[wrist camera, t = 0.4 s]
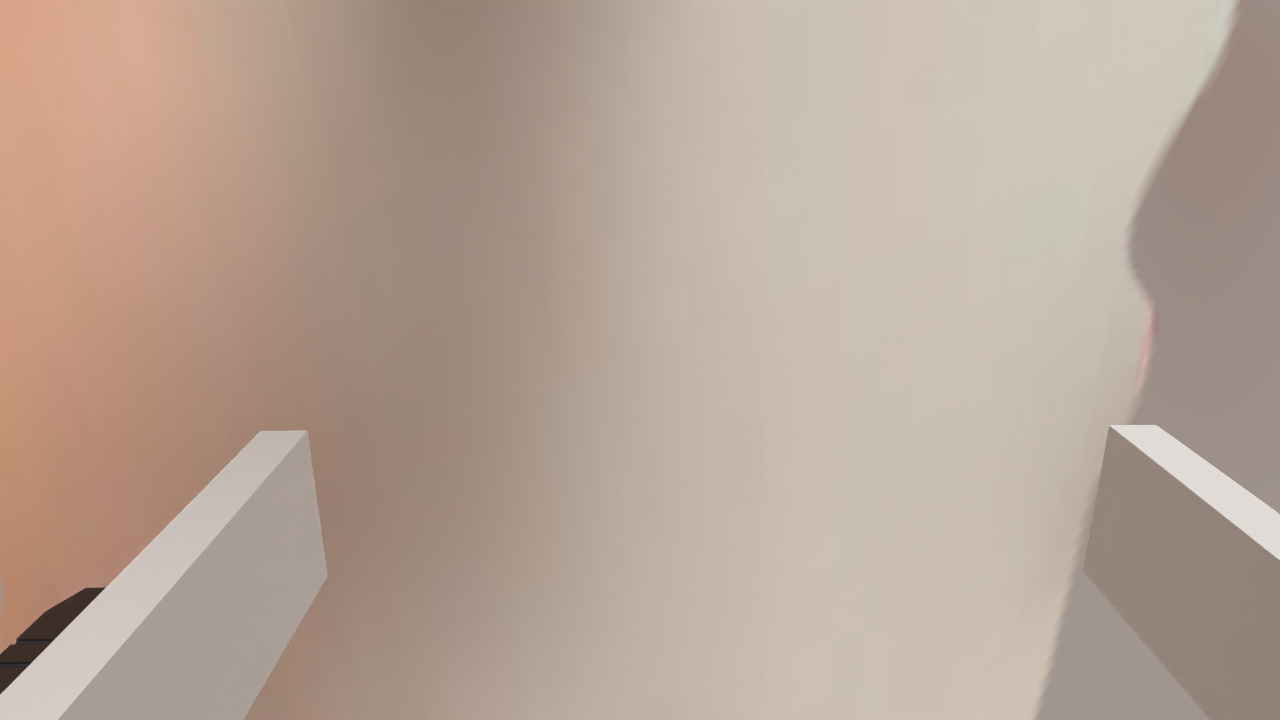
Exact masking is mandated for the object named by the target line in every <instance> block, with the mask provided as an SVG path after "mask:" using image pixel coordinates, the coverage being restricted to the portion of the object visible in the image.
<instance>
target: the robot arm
mask: <svg viewBox="0 0 1280 720" xmlns="http://www.w3.org/2000/svg"><path fill="white" fill-rule="evenodd" d="M1083 572H1084V573H1085V574H1086V576H1087V577H1088V578H1089V579H1090V580H1091V581H1092V583H1093V584H1094V585H1095V586H1096V587H1097V588H1098V590H1100V592H1101V593H1102V594H1103V595H1104V596H1105V598H1106V599H1107V600H1108V601H1109V602H1110V604H1112V606H1113V607H1114V608H1115V609H1116V611H1117V612H1118V613H1119V614H1120V615H1121V616H1122V618H1123V619H1124V620H1125V621H1126V622H1127V623H1128V625H1129V626H1130V627H1131V628H1132V629H1133V630H1134V632H1135V633H1136V634H1137V635H1138V636H1139V637H1140V639H1141V640H1142V641H1143V642H1144V643H1145V644H1146V646H1147V647H1148V648H1149V649H1150V650H1151V651H1152V652H1153V654H1154V655H1155V656H1156V657H1157V658H1158V659H1159V661H1160V662H1161V663H1162V664H1163V665H1164V666H1165V668H1166V669H1167V670H1168V671H1169V672H1170V674H1171V675H1172V676H1173V677H1174V678H1175V679H1176V681H1177V682H1178V683H1179V684H1180V685H1181V686H1182V688H1183V689H1184V690H1185V691H1186V692H1187V693H1188V694H1189V696H1190V697H1191V698H1192V699H1193V700H1194V702H1195V703H1196V704H1197V705H1198V706H1199V707H1200V709H1201V710H1202V711H1203V712H1204V713H1205V714H1206V716H1207V717H1208V718H1209V719H1210V720H1280V514H1279V513H1277V512H1276V511H1275V510H1273V509H1272V508H1270V507H1269V506H1268V505H1266V504H1265V503H1263V502H1262V501H1261V500H1259V499H1258V498H1257V497H1255V496H1254V495H1252V494H1251V493H1250V492H1248V491H1247V490H1246V489H1244V488H1243V487H1241V486H1240V485H1238V484H1237V483H1236V482H1234V481H1233V480H1232V479H1230V478H1229V477H1227V476H1226V475H1225V474H1223V473H1222V472H1221V471H1219V470H1218V469H1216V468H1215V467H1213V466H1212V465H1211V464H1209V463H1208V462H1207V461H1205V460H1204V459H1203V458H1201V457H1200V456H1198V455H1197V454H1196V453H1194V452H1193V451H1191V450H1190V449H1189V448H1187V447H1186V446H1184V445H1183V444H1182V443H1180V442H1179V441H1178V440H1176V439H1175V438H1173V437H1172V436H1171V435H1169V434H1168V433H1166V432H1165V431H1163V430H1162V429H1161V428H1159V427H1158V426H1157V425H1109V431H1108V436H1107V441H1106V447H1105V452H1104V458H1103V463H1102V469H1101V474H1100V479H1099V485H1098V490H1097V496H1096V501H1095V507H1094V512H1093V517H1092V523H1091V528H1090V534H1089V539H1088V545H1087V550H1086V555H1085V561H1084V566H1083ZM327 577H328V573H327V566H326V559H325V552H324V545H323V538H322V531H321V524H320V516H319V509H318V502H317V495H316V488H315V481H314V474H313V467H312V459H311V452H310V445H309V438H308V431H260V432H259V433H258V434H257V435H256V436H255V437H254V438H253V439H252V440H251V441H250V442H249V443H248V444H247V445H246V446H245V447H244V448H243V449H242V450H241V451H240V452H239V453H238V454H237V455H236V456H235V457H234V458H233V459H232V460H231V461H230V462H229V463H228V464H227V465H226V466H225V467H224V468H223V469H222V470H221V471H220V472H219V473H218V474H217V475H216V476H215V477H214V479H213V480H212V481H211V482H210V483H209V484H208V485H207V486H206V487H205V488H204V489H203V490H202V491H201V492H200V493H199V494H198V495H197V496H196V497H195V498H194V499H193V500H192V501H191V502H190V503H189V504H188V505H187V506H186V507H185V508H184V509H183V510H182V511H181V512H180V513H179V514H178V515H177V516H176V517H175V518H174V519H173V520H172V521H171V522H170V523H169V524H168V525H167V526H166V527H165V528H164V529H163V530H162V531H161V532H160V533H159V534H158V535H157V536H156V537H155V538H154V539H153V540H152V541H151V542H150V543H149V544H148V545H147V546H146V547H145V548H144V549H143V550H142V552H141V553H140V554H139V555H138V556H137V557H136V558H135V559H134V560H133V561H132V562H131V563H130V564H129V565H128V566H127V567H126V568H125V569H124V570H123V571H122V572H121V573H120V574H119V575H118V576H117V577H116V578H115V579H114V580H113V581H112V582H111V583H110V584H109V585H108V586H107V587H106V588H85V589H83V590H82V591H80V592H78V593H76V594H75V595H73V596H71V597H70V598H68V599H66V600H64V601H63V602H61V603H59V604H58V605H56V606H54V607H52V608H51V609H49V610H47V611H46V612H44V613H43V614H42V615H41V616H40V617H39V618H38V619H37V620H36V621H35V622H34V623H33V624H32V625H31V626H30V627H29V628H28V629H27V630H26V631H24V632H23V633H22V634H21V635H20V636H19V637H18V638H17V639H16V640H17V642H16V644H15V645H10V646H9V647H8V648H7V649H6V650H5V651H3V652H2V653H1V654H0V720H244V719H245V717H246V715H247V713H248V712H249V710H250V708H251V707H252V705H253V703H254V701H255V700H256V698H257V696H258V695H259V693H260V691H261V690H262V688H263V686H264V684H265V683H266V681H267V679H268V678H269V676H270V674H271V672H272V671H273V669H274V667H275V666H276V664H277V662H278V661H279V659H280V657H281V655H282V654H283V652H284V650H285V649H286V647H287V645H288V643H289V642H290V640H291V638H292V637H293V635H294V633H295V631H296V630H297V628H298V626H299V625H300V623H301V621H302V620H303V618H304V616H305V614H306V613H307V611H308V609H309V608H310V606H311V604H312V602H313V601H314V599H315V597H316V596H317V594H318V592H319V591H320V589H321V587H322V585H323V584H324V582H325V580H326V579H327Z"/></svg>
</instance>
